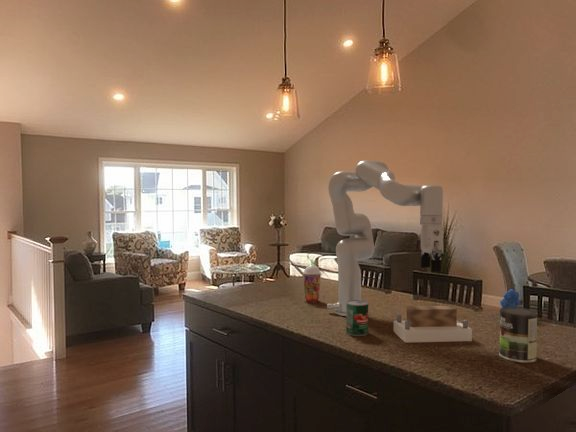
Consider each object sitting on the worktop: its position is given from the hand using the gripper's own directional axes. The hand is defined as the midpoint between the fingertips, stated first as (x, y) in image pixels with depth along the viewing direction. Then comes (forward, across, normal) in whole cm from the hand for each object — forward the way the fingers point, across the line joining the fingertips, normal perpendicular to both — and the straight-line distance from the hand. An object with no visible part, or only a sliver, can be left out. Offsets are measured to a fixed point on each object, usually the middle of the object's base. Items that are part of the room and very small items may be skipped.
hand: (430, 269), depth 161 cm
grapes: (+24, +21, -40) cm, 51 cm away
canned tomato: (+24, +5, +25) cm, 35 cm away
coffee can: (+23, -24, -18) cm, 38 cm away
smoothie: (+24, +59, +35) cm, 73 cm away
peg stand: (+23, -1, 0) cm, 23 cm away
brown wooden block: (+19, -1, 0) cm, 19 cm away
